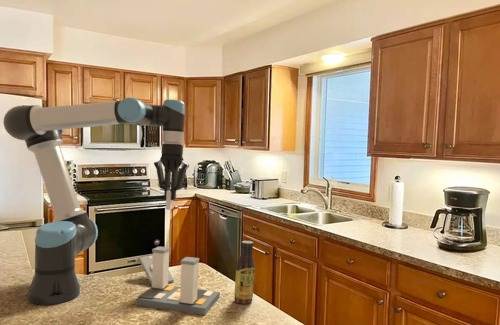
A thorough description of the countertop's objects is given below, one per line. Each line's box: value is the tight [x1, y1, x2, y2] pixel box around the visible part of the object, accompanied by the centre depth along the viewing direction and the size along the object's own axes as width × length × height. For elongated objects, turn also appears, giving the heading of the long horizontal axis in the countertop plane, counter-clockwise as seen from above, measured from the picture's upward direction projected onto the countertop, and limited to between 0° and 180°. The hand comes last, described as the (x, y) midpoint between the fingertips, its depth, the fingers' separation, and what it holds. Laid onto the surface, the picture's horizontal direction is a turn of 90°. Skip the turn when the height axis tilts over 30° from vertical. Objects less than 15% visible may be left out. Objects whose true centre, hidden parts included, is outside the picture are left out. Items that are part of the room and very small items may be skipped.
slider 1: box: [151, 246, 171, 289], centre depth 127 cm, size 4×4×13 cm
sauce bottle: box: [233, 240, 256, 305], centre depth 123 cm, size 7×6×20 cm
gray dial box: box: [138, 254, 175, 286], centre depth 141 cm, size 8×6×14 cm
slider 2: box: [180, 256, 200, 304], centre depth 116 cm, size 4×4×13 cm
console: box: [135, 284, 221, 316], centre depth 121 cm, size 23×14×2 cm, turn 77°
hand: (169, 208), depth 134 cm, fingers closed
